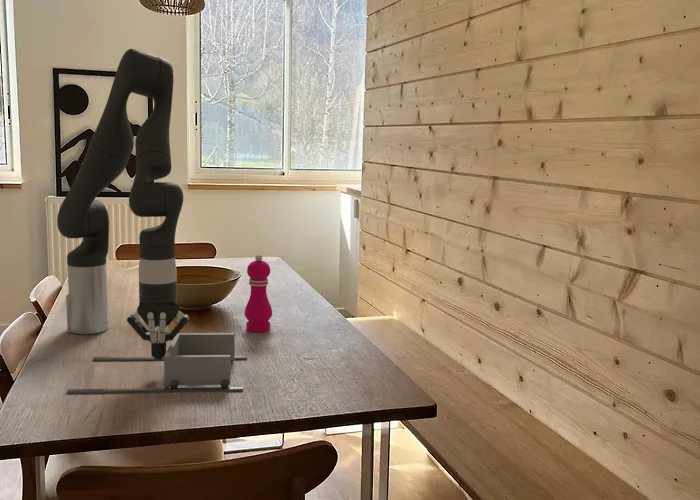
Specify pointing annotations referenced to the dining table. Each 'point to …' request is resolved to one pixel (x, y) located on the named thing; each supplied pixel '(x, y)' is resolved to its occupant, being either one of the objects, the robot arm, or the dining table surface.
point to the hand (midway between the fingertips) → (159, 358)
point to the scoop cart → (199, 359)
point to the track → (142, 390)
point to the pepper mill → (258, 297)
